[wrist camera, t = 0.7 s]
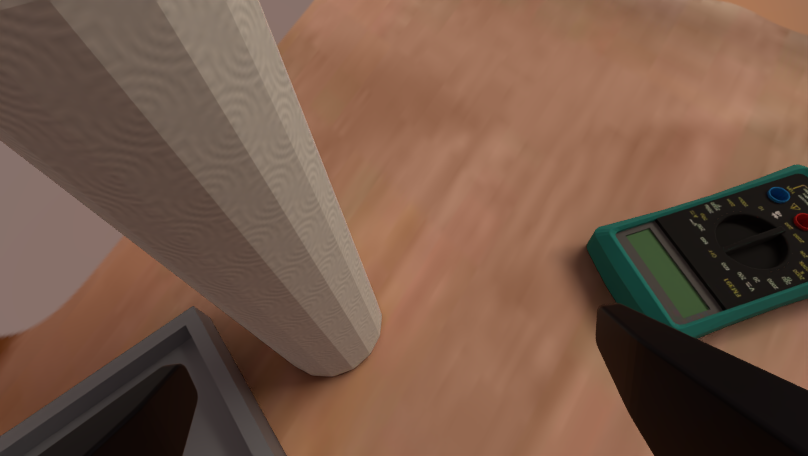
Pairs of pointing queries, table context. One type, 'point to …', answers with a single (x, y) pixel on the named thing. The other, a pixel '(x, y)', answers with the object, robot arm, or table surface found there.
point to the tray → (171, 344)
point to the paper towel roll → (192, 159)
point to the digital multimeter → (712, 255)
